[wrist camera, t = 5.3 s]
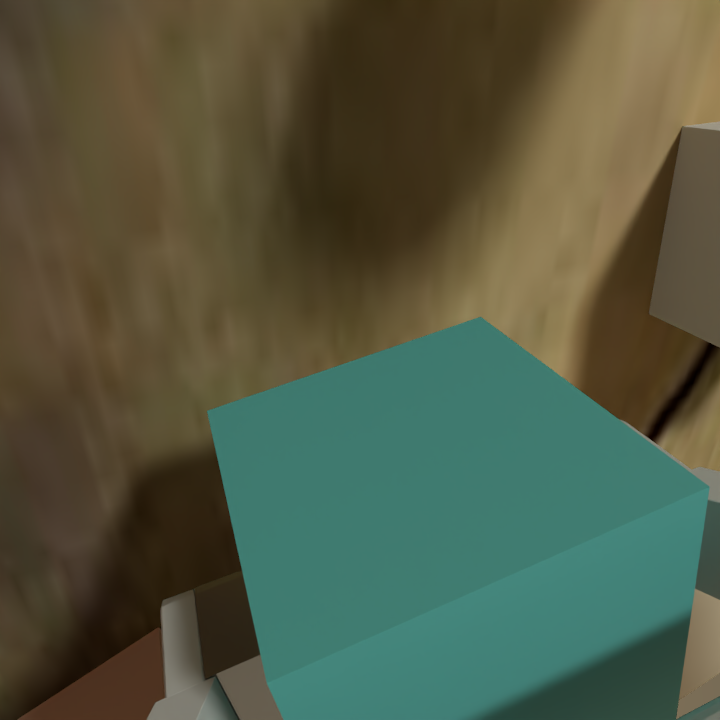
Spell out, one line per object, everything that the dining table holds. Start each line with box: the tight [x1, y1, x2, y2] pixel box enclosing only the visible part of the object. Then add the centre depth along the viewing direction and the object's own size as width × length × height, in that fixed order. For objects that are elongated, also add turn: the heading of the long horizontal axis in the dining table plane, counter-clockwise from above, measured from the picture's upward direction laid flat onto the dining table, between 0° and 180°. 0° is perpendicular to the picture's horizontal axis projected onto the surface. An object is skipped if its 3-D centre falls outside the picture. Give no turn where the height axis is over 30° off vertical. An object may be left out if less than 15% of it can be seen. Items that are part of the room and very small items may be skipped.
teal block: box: [207, 317, 710, 720], centre depth 9 cm, size 5×5×5 cm
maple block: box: [679, 589, 720, 700], centre depth 18 cm, size 5×5×5 cm
